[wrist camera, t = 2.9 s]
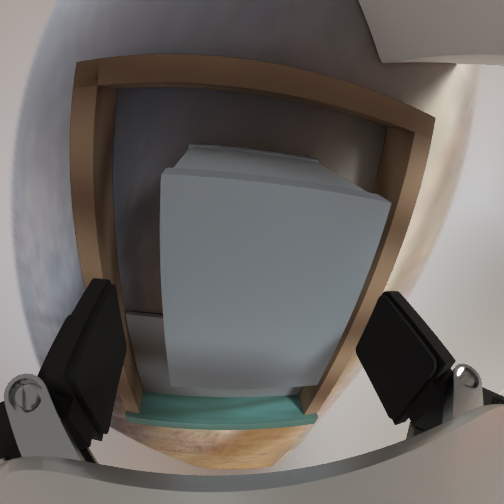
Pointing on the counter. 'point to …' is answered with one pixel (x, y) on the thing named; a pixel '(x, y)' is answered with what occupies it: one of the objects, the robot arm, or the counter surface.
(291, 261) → the grey block
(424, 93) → the counter surface
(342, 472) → the robot arm
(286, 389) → the bay
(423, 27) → the milk carton
